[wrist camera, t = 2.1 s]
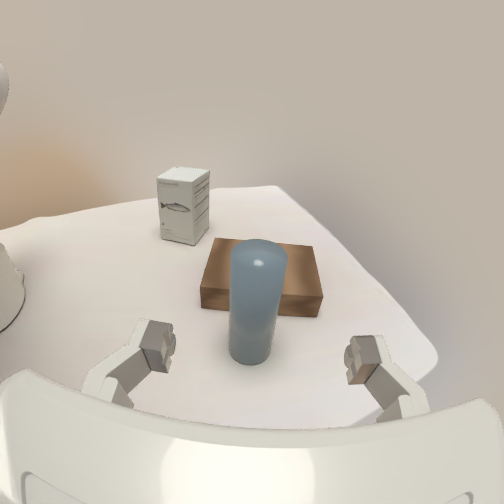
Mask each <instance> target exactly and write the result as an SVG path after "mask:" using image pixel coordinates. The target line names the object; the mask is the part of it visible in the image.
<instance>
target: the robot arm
mask: <svg viewBox="0 0 504 504" xmlns="http://www.w3.org/2000/svg"><path fill="white" fill-rule="evenodd" d="M8 91H9V79H8V74H7V72H6V69H5V68H4V67H3V65H2V64H1V63H0V114H1V112H2V110H3V108H4V106H5V103H6V100H7V96H8ZM23 278H24V274H23V273H22V271H21V270H16V269H15V267H14V265H13V263H12V261H11V259H10V257H9V255H8V253H7V251H6V249H5V247H4V245H3V244H2V243H0V331H1V330H3V329H4V328H5V327H6V326H7V325H9V324H10V322H11V321H12V320H13V319H14V318H15V317H16V315H17V314H18V312H19V310H20V309H21V307H22V304H23V301H24V297H25V290H24V287H23V283H22V282H23ZM172 332H173V325H172V324H169V323H164V322H158V321H153V320H147V319H140V320H139V321H138V323H137V325H136V328H135V330H134V332H133V334H132V337H131V339H130V341H129V344H128V345H124V346H123V347H121V348H120V349H119V350H117V351H116V352H114V353H113V354H112V355H110V356H109V357H107V358H106V359H105V360H103V361H102V362H100V363H99V364H97V365H96V366H95V367H93V368H92V369H90V371H89V373H88V375H87V377H86V380H85V382H84V384H83V387H82V389H81V391H80V392H79V391H77V390H74V389H72V388H69V387H67V386H64V385H62V384H60V383H57V382H55V381H53V380H50V379H48V378H46V377H44V376H42V375H40V374H38V373H36V372H34V371H32V370H29V369H23V370H20V371H18V372H16V373H14V374H13V375H11V376H9V377H8V378H6V379H5V380H4V381H2V383H1V384H0V504H504V432H503V427H502V423H501V419H500V416H499V414H498V412H497V410H496V409H495V408H494V407H493V406H492V405H490V404H489V403H488V402H487V401H486V400H484V399H483V398H475V399H472V400H469V401H467V402H464V403H461V404H458V405H454V406H451V407H448V408H444V409H441V410H437V411H433V412H430V409H429V405H428V402H427V398H426V395H425V392H424V390H423V389H422V388H421V387H420V386H419V385H418V384H417V383H416V382H415V381H414V380H413V379H411V378H410V377H409V376H408V375H407V374H406V373H405V372H404V371H403V370H402V369H401V368H400V367H399V366H398V365H397V364H396V363H392V361H391V358H390V354H389V351H388V348H387V345H386V342H385V339H384V337H383V336H382V335H376V336H372V335H368V336H353V337H352V338H351V340H350V345H349V346H347V347H346V350H345V353H344V363H345V366H346V367H347V368H348V371H347V373H346V374H347V380H348V385H353V384H364V385H365V387H366V388H367V389H368V390H369V392H370V393H371V394H372V396H373V397H374V398H375V399H376V401H377V402H378V403H379V405H380V406H381V407H382V408H383V410H384V412H382V413H381V414H380V415H379V416H378V417H377V418H376V421H377V423H374V424H366V425H359V426H349V427H338V428H323V429H257V428H242V427H231V426H221V425H213V424H206V423H199V422H192V421H186V420H181V419H175V418H170V417H165V416H161V415H156V414H152V413H148V412H143V411H139V410H136V409H133V407H134V404H133V402H132V400H131V399H130V398H129V396H128V395H127V394H128V393H129V392H130V391H131V390H132V389H133V388H134V387H135V386H137V385H138V384H139V383H140V382H141V381H142V380H143V379H144V378H145V377H146V376H147V375H148V374H149V373H150V372H151V371H157V372H163V373H168V372H169V369H170V365H171V358H170V356H172V355H173V354H174V351H175V346H176V338H175V335H174V334H173V333H172Z"/></svg>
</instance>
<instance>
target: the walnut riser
mask: <svg viewBox="0 0 504 504" xmlns="http://www.w3.org/2000/svg"><path fill="white" fill-rule="evenodd" d="M242 241H245V240H236V239H224V238H215V239H214V242H213V246H212V249H211V252H210V255H209V258H208V262H207V265H206V268H205V271H204V275H203V278H202V281H201V285H200V294H201V307H202V308H206V309H215V310H225V311H229V303H230V257H231V250H232V248H233V247H234V246H235V245H236V244H238V243H240V242H242ZM276 244H278V245H279V246H281V247H282V248H283V249H284V250H285V251H286V253H287V255H288V260H287V266H286V272H285V277H284V283H283V288H282V293H281V299H280V304H279V309H278V314H277V315H285V316H301V317H317V314H318V311H319V308H320V305H321V302H322V299H323V293H322V288H321V284H320V279H319V274H318V270H317V265H316V261H315V256H314V252H313V248H312V246H303V245H292V244H281V243H276Z"/></svg>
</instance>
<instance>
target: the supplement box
mask: <svg viewBox="0 0 504 504" xmlns="http://www.w3.org/2000/svg"><path fill="white" fill-rule="evenodd" d="M209 175H210V170H204V169H196V168H187V167H178V166H176V167H173V168H171V169H170V170H168V171H166V172H165V173H164V174H161V175H160V176H158V177H157V191H158V205H159V216H160V226H161V236H162V239H167V240H172V241H177V242H181V243H185V244H189V245H193V246H195V245H196V243H197V242H198V241H199V240H200V238H201V237H202V236H203V235H204V234H205V232H206V231H207V230H208V229H209Z"/></svg>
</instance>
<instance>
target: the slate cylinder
mask: <svg viewBox="0 0 504 504" xmlns="http://www.w3.org/2000/svg"><path fill="white" fill-rule="evenodd" d="M287 260H288V255H287V253H286V251H285V250H284V249H283V248H282V247H281V246H279V245H278V244H276V243H274V242H271V241H267V240H262V239H250V240H245V241H242V242H240V243H238V244H236V245H235V246H234V247H233V248H232V250H231V257H230V303H229V352H230V354H231V356H232V358H233V359H234V360H236V361H237V362H239V363H241V364H244V365H257V364H260V363H262V362H263V361H265V360H266V359H267V357H268V356H269V353H270V349H271V344H272V339H273V334H274V329H275V324H276V319H277V314H278V309H279V304H280V299H281V293H282V288H283V283H284V277H285V272H286V266H287Z"/></svg>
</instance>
